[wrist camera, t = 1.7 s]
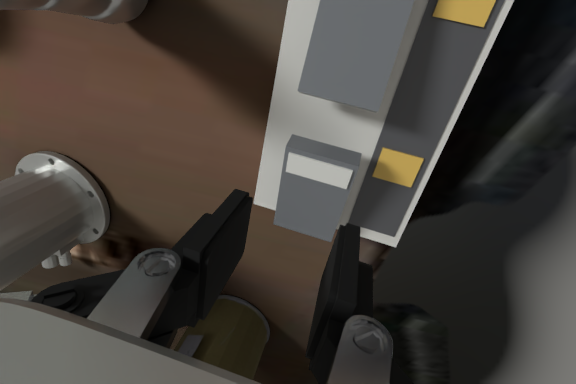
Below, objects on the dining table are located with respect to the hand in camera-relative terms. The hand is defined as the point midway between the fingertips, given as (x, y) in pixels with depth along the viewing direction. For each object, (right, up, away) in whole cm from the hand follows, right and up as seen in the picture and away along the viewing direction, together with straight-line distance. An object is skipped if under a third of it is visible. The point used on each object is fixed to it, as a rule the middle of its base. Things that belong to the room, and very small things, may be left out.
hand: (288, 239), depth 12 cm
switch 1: (+4, +11, +6) cm, 13 cm away
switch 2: (+2, +2, +11) cm, 12 cm away
